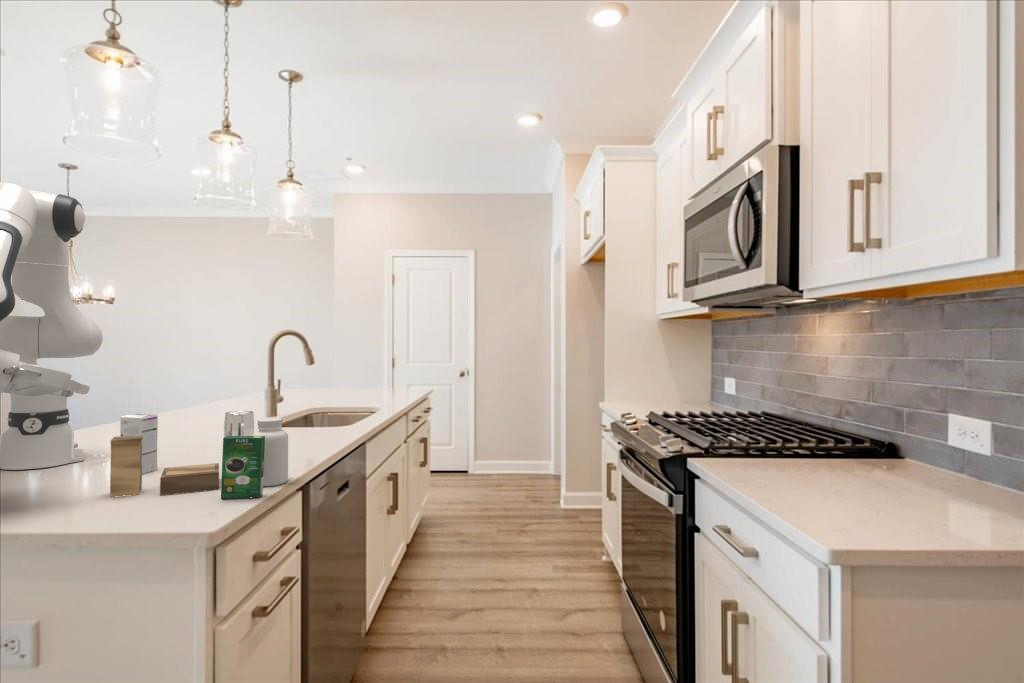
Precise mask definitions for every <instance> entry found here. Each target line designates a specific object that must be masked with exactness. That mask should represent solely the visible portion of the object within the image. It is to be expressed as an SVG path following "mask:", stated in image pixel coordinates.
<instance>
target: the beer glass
mask: <svg viewBox="0 0 1024 683" xmlns="http://www.w3.org/2000/svg"><path fill="white" fill-rule="evenodd" d="M254 413H255V412H254V411H253V410H233V411H227V412H224V420H223V438H224V437H225V436H252V435H253V434H254V433H255V415H254Z"/></svg>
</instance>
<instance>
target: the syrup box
mask: <svg viewBox="0 0 1024 683" xmlns="http://www.w3.org/2000/svg"><path fill="white" fill-rule="evenodd" d="M158 416H159V415H158V413H157V414H156V413H130V414H126V415H121V416H120V422H119V424H120V425H119V426H120V429H119V430H120V432H119V433H120V434H119V435H120V436H119V437H121V436H138V435H143V439H142V475H145V473H146V474H148V472H149V473H151V471H152V472H155V471H157V470H158V433H159V432H158V429H159V426H158V423H159V421H158V420H159V419H158Z"/></svg>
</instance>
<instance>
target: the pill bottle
mask: <svg viewBox="0 0 1024 683" xmlns="http://www.w3.org/2000/svg"><path fill="white" fill-rule="evenodd" d="M282 428H283V418H279V417H268V418H260V419H257V430H256V431H254V434H253V435H252V436H265V451H264V472H263V486H266V487H273V486H274V487H275V486H279V485H282V484H285V483H287V482H288V480H289V434H288V432H287V431H286V430H284V429H282Z"/></svg>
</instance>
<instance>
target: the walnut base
mask: <svg viewBox="0 0 1024 683" xmlns="http://www.w3.org/2000/svg"><path fill="white" fill-rule="evenodd" d="M159 479H160V481H159V488H160V489H159V496H166V495H165V494H170V495H176V494H175V493H179V494H187V493H186V492H188V493H195V491H198V492H205V491H204V490H207V491H214V490H213V489H216V490H219V488H220V463H215V462H214V463H204V464H203V463H202V464H193V465H181V466H171V467H164V468H163V470H162V472H161V475H160V478H159Z"/></svg>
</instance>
